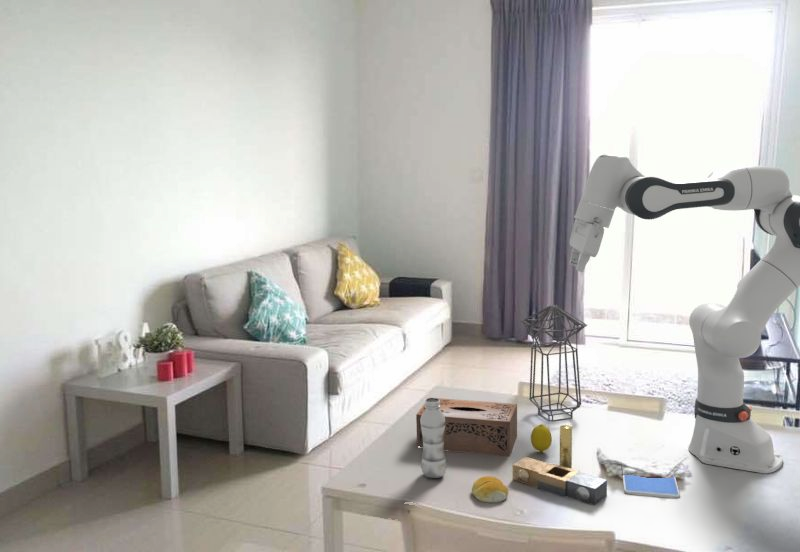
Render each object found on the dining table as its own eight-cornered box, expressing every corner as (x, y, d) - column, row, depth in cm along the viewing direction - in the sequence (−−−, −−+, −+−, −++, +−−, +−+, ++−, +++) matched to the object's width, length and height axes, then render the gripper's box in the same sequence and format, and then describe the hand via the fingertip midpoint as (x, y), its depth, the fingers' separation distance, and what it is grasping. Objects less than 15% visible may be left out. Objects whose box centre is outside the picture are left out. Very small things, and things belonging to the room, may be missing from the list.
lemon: (551, 457, 194) (551, 428, 193) (530, 455, 196) (530, 427, 194) (551, 448, 200) (551, 421, 198) (531, 447, 201) (531, 420, 200)
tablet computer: (620, 462, 191) (620, 457, 191) (671, 466, 188) (671, 461, 188) (623, 495, 173) (624, 490, 172) (680, 500, 170) (680, 495, 169)
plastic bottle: (426, 483, 181) (424, 405, 178) (418, 472, 188) (416, 397, 184) (450, 479, 183) (449, 402, 180) (441, 468, 189) (440, 394, 186)
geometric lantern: (590, 422, 219) (589, 308, 212) (541, 429, 215) (539, 313, 209) (566, 404, 234) (565, 297, 228) (520, 410, 231) (518, 302, 224)
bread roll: (498, 484, 180) (498, 469, 179) (512, 501, 171) (512, 485, 170) (466, 489, 178) (466, 473, 177) (478, 505, 169) (478, 489, 168)
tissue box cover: (417, 448, 203) (416, 414, 201) (429, 430, 217) (429, 397, 215) (509, 457, 196) (509, 421, 194) (517, 437, 209) (517, 403, 208)
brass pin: (573, 467, 188) (574, 426, 186) (568, 471, 185) (568, 430, 184) (563, 464, 189) (563, 424, 188) (557, 468, 187) (557, 427, 185)
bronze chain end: (579, 486, 177) (579, 470, 176) (565, 497, 172) (565, 481, 171) (526, 470, 186) (526, 455, 186) (511, 480, 181) (511, 465, 180)
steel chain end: (607, 494, 172) (608, 478, 172) (593, 506, 167) (594, 489, 166) (552, 478, 182) (552, 463, 181) (537, 488, 176) (537, 473, 176)
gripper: (615, 223, 174) (595, 278, 176) (597, 217, 194) (580, 266, 196) (589, 215, 174) (570, 270, 176) (574, 210, 194) (557, 259, 196)
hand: (575, 268), depth 186 cm, fingers open, 8 cm apart
